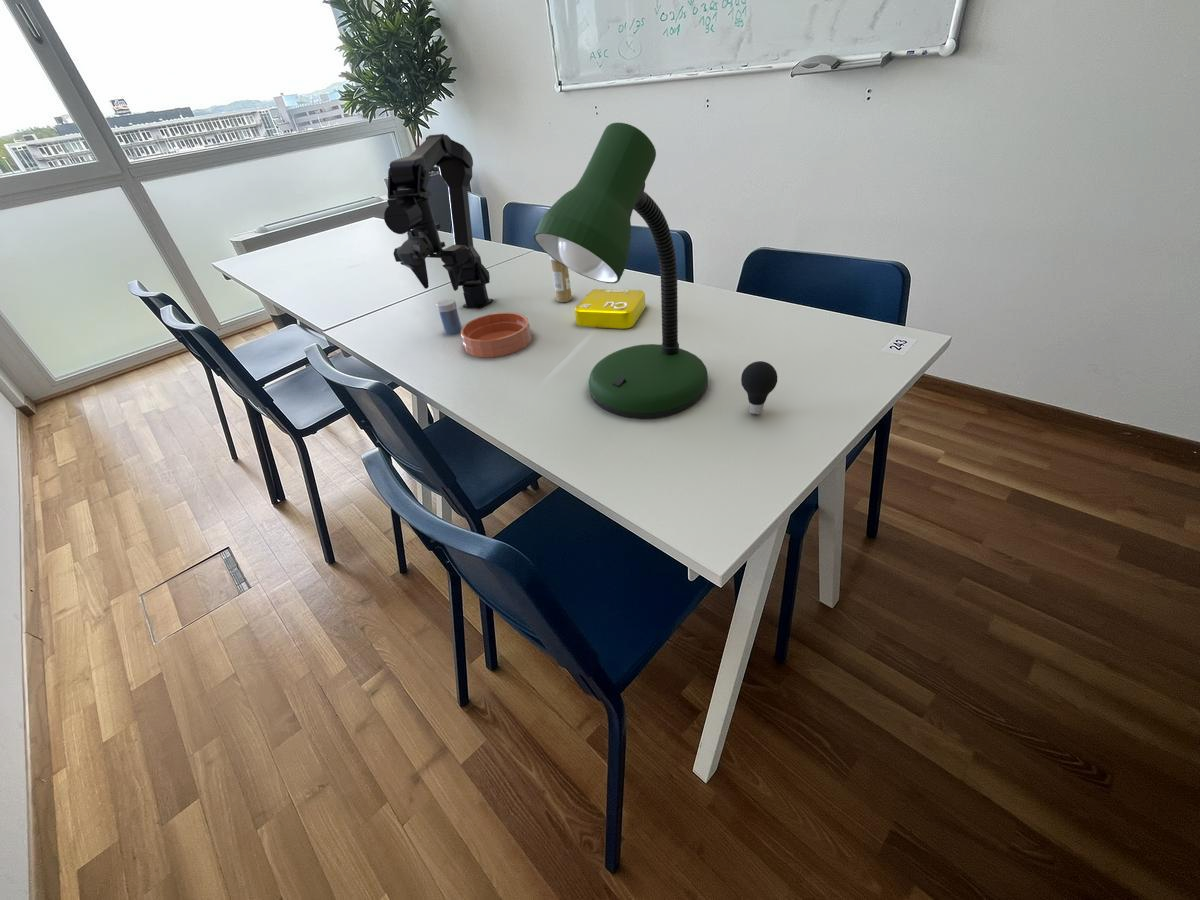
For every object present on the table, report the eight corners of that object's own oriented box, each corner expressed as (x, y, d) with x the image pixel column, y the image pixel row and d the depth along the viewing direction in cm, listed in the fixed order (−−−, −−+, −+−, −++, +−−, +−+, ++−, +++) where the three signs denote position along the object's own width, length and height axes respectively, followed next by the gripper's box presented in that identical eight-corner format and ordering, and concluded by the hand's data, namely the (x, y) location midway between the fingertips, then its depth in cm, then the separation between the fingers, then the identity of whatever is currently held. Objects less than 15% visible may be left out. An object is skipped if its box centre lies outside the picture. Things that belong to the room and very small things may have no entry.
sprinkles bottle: (575, 299, 144) (569, 250, 135) (561, 304, 142) (554, 254, 134) (567, 295, 147) (560, 247, 139) (553, 299, 145) (545, 251, 137)
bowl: (490, 326, 134) (486, 310, 131) (543, 332, 128) (540, 315, 125) (451, 354, 122) (446, 337, 120) (508, 362, 116) (504, 344, 114)
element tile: (647, 305, 135) (646, 287, 132) (631, 329, 124) (630, 310, 121) (593, 303, 140) (592, 286, 137) (574, 326, 129) (571, 308, 126)
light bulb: (734, 407, 93) (737, 357, 87) (766, 403, 93) (771, 353, 87) (744, 425, 88) (748, 373, 82) (777, 420, 88) (784, 369, 82)
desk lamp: (624, 456, 84) (597, 141, 57) (536, 412, 98) (481, 140, 71) (729, 379, 101) (746, 105, 74) (641, 350, 114) (629, 110, 87)
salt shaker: (452, 327, 136) (444, 298, 131) (466, 329, 134) (458, 299, 129) (441, 335, 133) (432, 305, 128) (455, 336, 131) (447, 306, 126)
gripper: (366, 231, 115) (390, 298, 125) (431, 232, 108) (451, 304, 117) (400, 218, 123) (420, 282, 132) (462, 218, 116) (479, 286, 125)
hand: (441, 289), depth 127 cm, fingers open, 9 cm apart
